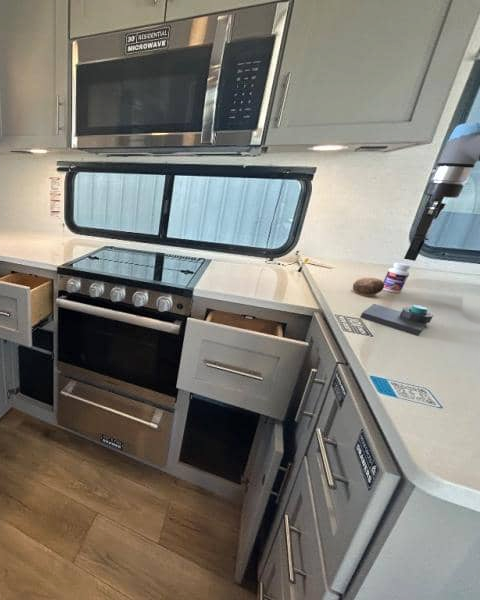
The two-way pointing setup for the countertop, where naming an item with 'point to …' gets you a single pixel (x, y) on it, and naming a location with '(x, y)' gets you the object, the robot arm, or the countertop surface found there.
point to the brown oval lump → (368, 286)
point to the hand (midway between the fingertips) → (409, 259)
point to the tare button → (419, 309)
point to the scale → (397, 318)
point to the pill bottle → (396, 277)
